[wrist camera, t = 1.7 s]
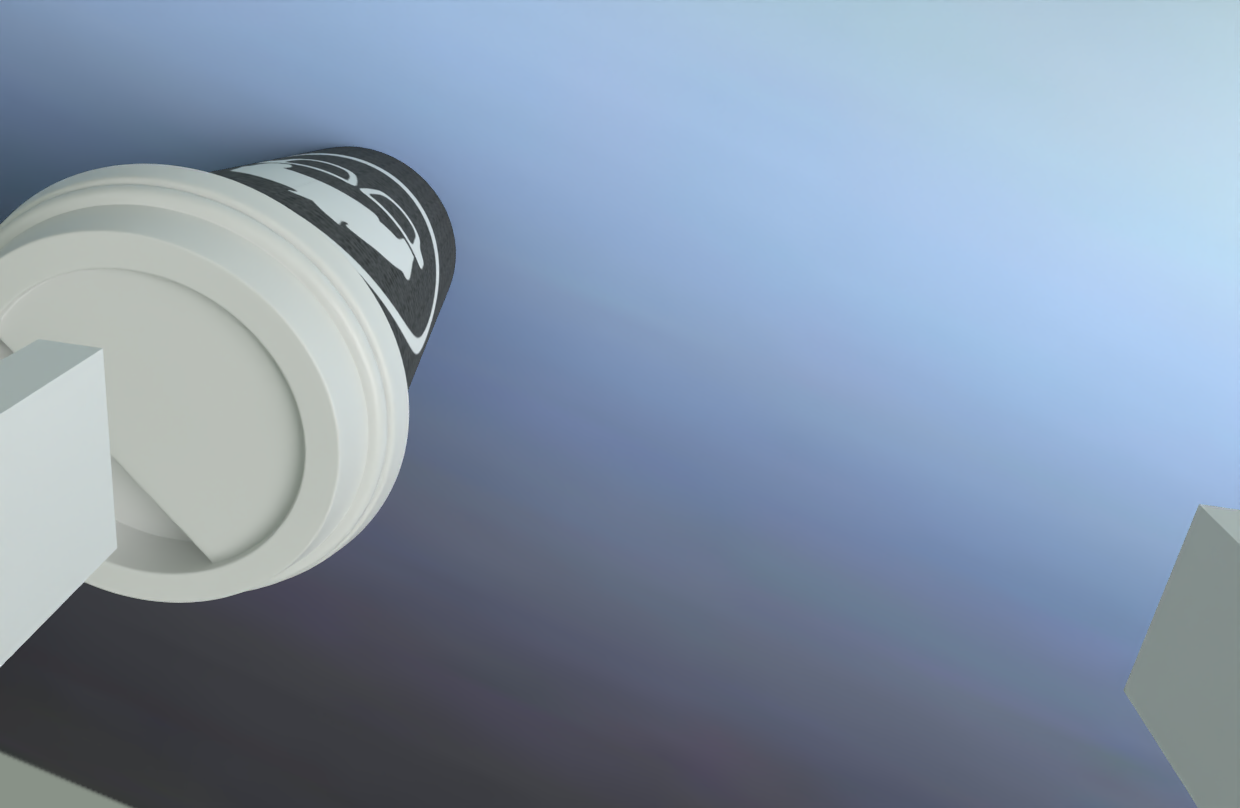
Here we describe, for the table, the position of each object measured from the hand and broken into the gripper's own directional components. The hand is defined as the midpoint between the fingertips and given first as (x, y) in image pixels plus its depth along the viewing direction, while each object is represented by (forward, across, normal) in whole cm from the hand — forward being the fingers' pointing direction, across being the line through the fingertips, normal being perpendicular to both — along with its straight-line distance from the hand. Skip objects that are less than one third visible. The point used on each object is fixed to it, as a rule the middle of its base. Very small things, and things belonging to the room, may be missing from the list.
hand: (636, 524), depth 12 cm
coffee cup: (+22, -10, -3) cm, 24 cm away
